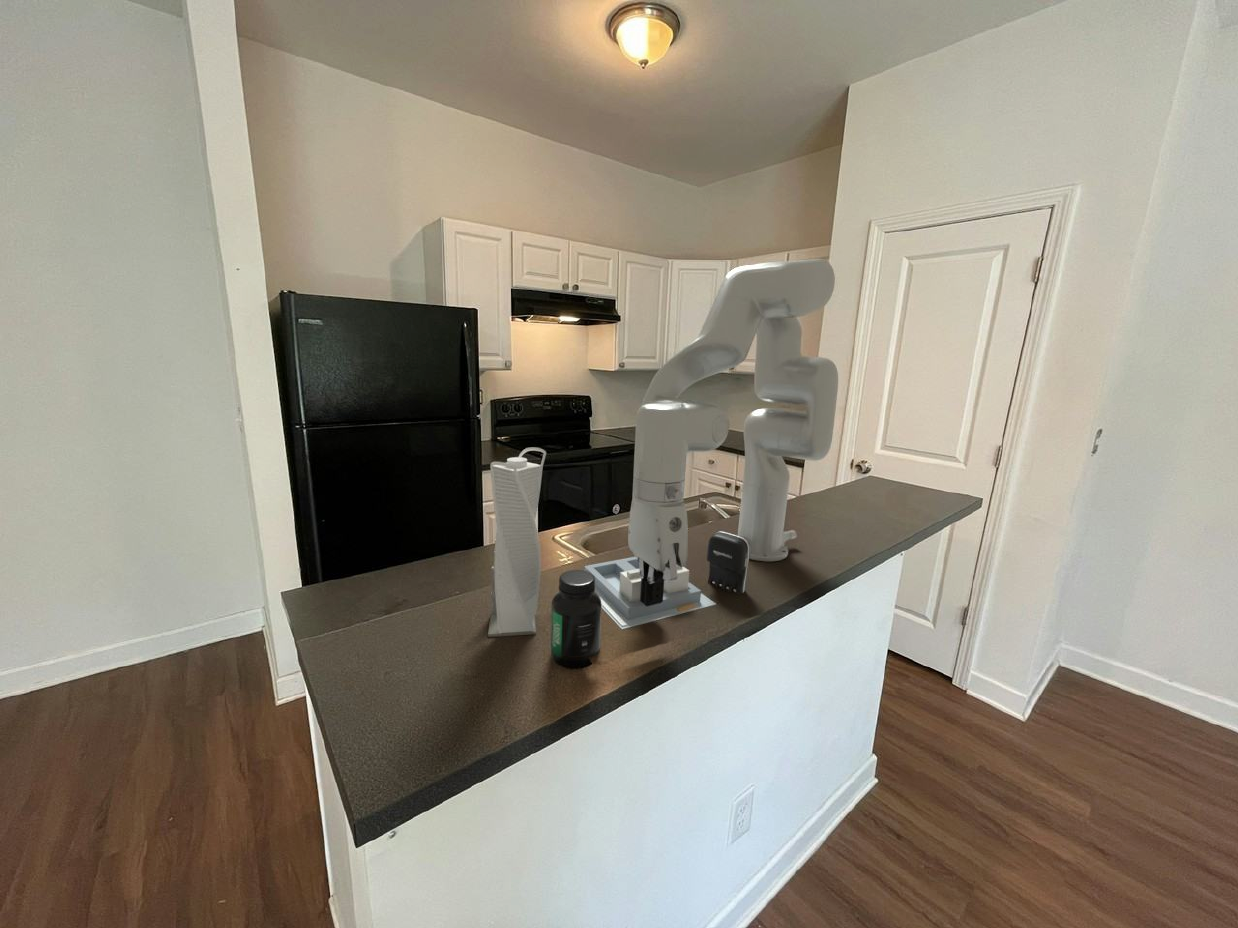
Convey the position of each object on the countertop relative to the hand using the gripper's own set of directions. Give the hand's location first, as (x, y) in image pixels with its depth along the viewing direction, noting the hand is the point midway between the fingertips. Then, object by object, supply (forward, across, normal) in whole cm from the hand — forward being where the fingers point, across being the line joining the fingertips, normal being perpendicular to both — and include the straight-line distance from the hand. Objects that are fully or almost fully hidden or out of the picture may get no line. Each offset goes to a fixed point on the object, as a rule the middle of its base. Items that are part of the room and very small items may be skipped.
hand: (651, 602), depth 75 cm
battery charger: (+4, +3, -18) cm, 18 cm away
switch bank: (+4, +9, -4) cm, 11 cm away
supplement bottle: (+4, -2, +14) cm, 14 cm away
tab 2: (+3, +5, -7) cm, 9 cm away
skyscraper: (+4, +9, +18) cm, 21 cm away
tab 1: (+3, +5, 0) cm, 5 cm away
